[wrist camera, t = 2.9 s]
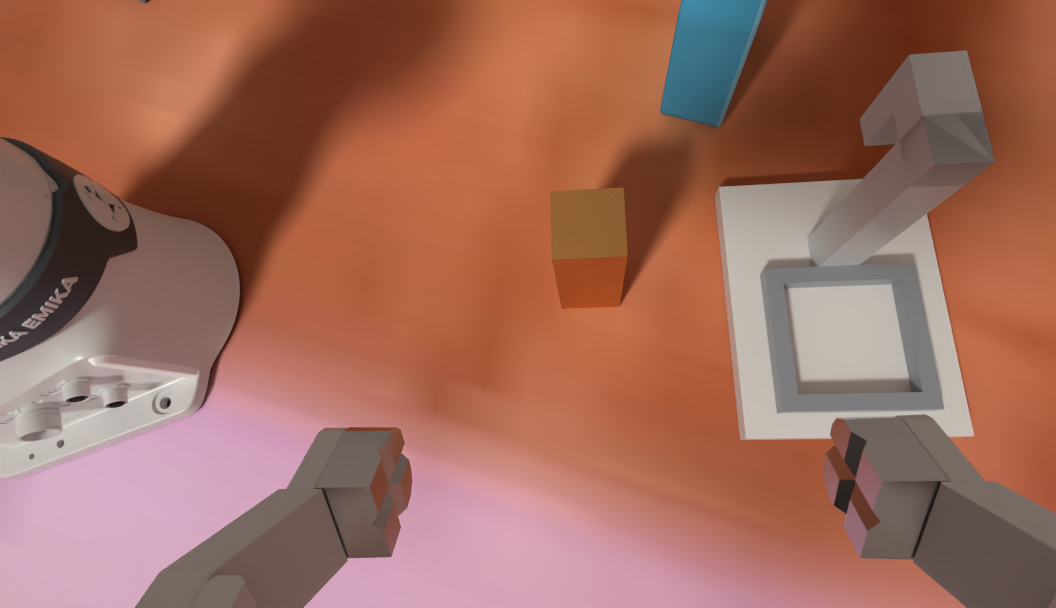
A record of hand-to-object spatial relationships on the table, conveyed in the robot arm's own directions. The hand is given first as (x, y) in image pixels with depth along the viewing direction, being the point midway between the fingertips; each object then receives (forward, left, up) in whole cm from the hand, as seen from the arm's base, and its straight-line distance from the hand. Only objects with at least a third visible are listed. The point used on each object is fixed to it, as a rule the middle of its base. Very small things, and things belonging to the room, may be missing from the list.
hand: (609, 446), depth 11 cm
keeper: (+18, 0, -27) cm, 33 cm away
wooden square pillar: (+6, +11, -27) cm, 30 cm away
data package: (+23, +21, -28) cm, 42 cm away
